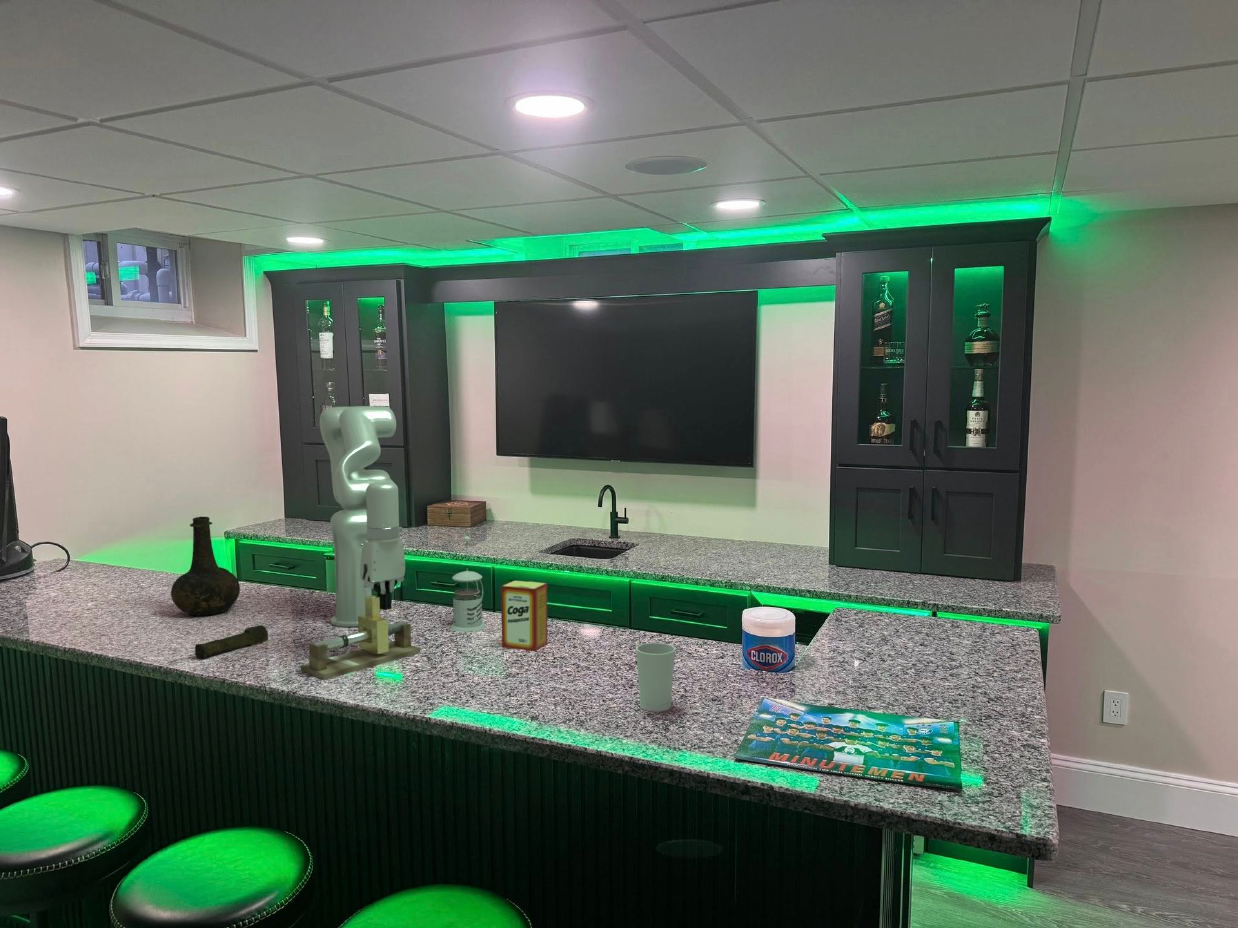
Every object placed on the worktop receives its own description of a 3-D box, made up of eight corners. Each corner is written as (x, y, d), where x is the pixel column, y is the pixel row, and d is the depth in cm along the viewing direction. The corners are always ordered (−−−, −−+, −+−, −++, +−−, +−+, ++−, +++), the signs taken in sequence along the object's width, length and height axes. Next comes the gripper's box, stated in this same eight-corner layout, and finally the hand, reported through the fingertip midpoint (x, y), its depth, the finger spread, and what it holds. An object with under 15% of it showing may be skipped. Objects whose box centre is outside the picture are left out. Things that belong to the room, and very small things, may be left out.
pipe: (400, 630, 212) (400, 619, 212) (407, 632, 210) (407, 621, 210) (312, 652, 194) (312, 640, 194) (319, 655, 192) (318, 643, 192)
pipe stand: (396, 645, 216) (395, 618, 215) (420, 652, 209) (419, 625, 209) (300, 670, 196) (299, 641, 195) (324, 679, 189) (323, 649, 189)
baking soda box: (502, 646, 214) (501, 584, 213) (514, 639, 220) (513, 579, 219) (535, 651, 211) (535, 587, 209) (547, 643, 217) (547, 582, 215)
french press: (442, 629, 230) (440, 537, 228) (465, 618, 241) (464, 531, 239) (473, 632, 227) (472, 540, 225) (496, 622, 237) (494, 533, 235)
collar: (369, 644, 208) (368, 593, 207) (388, 651, 203) (387, 598, 202) (358, 647, 206) (357, 595, 205) (377, 654, 201) (376, 600, 200)
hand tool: (203, 661, 203) (202, 642, 203) (194, 658, 205) (193, 639, 205) (274, 642, 219) (273, 625, 218) (265, 640, 221) (264, 622, 220)
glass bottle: (253, 607, 254) (250, 514, 252) (206, 622, 237) (202, 523, 235) (206, 602, 260) (203, 511, 257) (157, 617, 243) (153, 519, 240)
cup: (634, 699, 177) (634, 643, 176) (671, 698, 178) (672, 642, 177) (638, 713, 169) (638, 654, 168) (677, 712, 170) (678, 653, 169)
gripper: (399, 528, 213) (401, 600, 215) (346, 536, 202) (348, 612, 203) (418, 531, 208) (419, 605, 210) (365, 539, 197) (367, 617, 198)
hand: (384, 608), depth 206 cm, fingers closed
